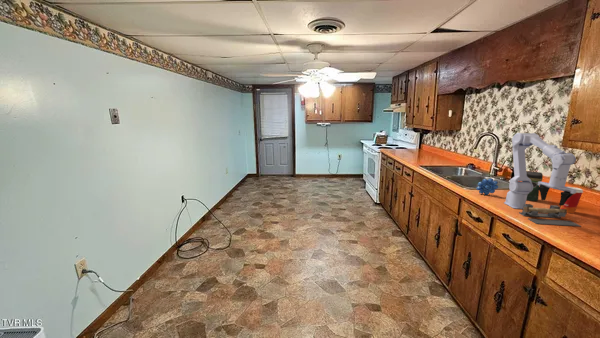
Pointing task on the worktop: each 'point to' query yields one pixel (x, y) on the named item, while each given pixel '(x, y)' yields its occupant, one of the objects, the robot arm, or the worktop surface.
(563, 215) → the hook standards
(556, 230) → the worktop surface
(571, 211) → the paper cup
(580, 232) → the worktop surface
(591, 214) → the worktop surface
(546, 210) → the tan wooden rod
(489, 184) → the grapes
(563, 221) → the mat
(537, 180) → the coffee jar
